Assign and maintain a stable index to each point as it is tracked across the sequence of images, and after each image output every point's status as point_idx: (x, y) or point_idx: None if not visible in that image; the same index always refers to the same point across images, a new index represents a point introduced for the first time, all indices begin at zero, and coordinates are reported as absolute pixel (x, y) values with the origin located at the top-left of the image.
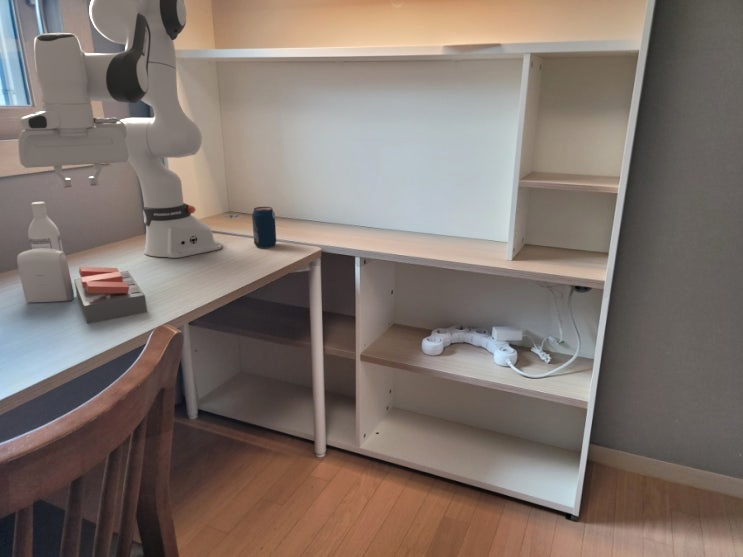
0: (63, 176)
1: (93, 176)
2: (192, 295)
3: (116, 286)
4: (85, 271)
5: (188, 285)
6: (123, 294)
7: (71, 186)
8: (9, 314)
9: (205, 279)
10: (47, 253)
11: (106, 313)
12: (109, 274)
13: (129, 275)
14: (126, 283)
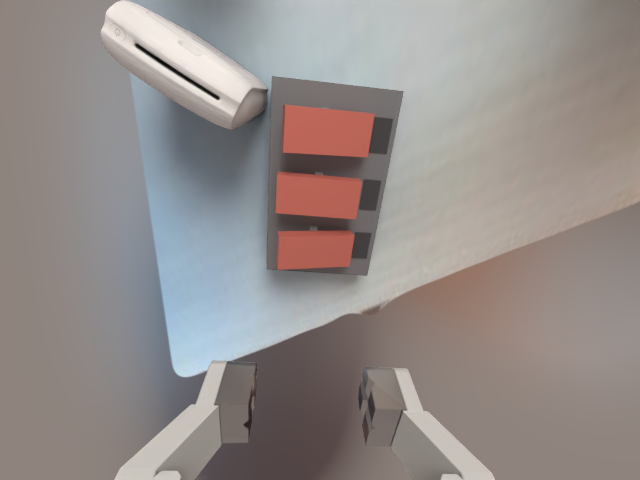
0: (203, 466)
1: (397, 431)
2: (455, 230)
3: (328, 265)
4: (292, 152)
5: (483, 172)
6: None
7: (255, 395)
8: (142, 123)
9: (530, 156)
10: (195, 106)
11: None
12: (337, 192)
13: (390, 138)
14: (352, 245)
